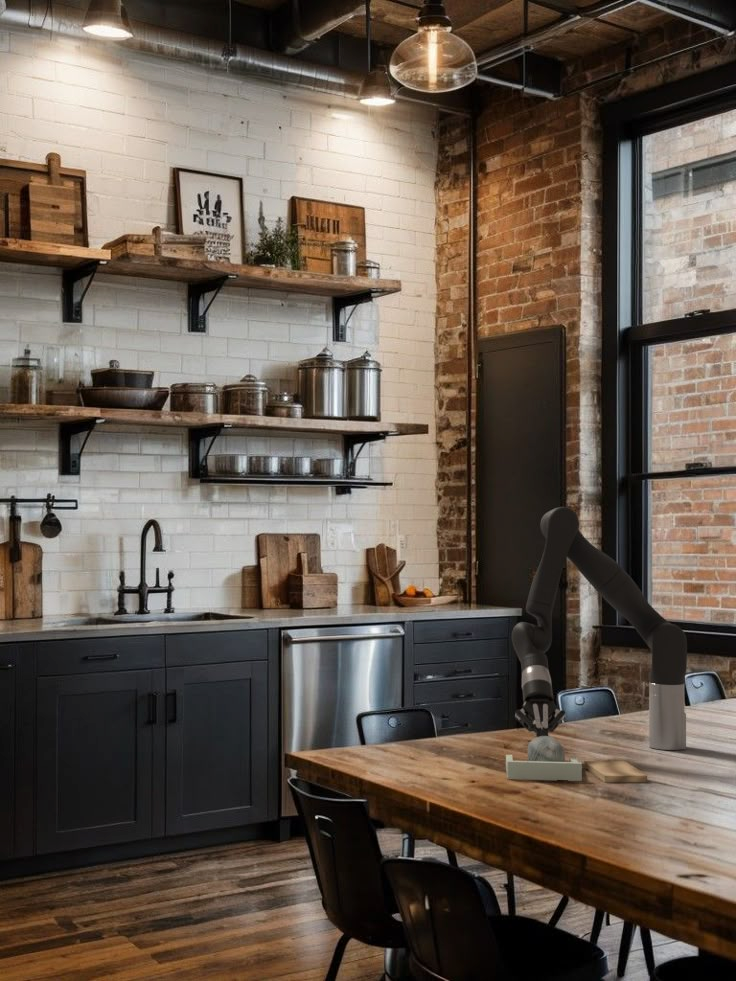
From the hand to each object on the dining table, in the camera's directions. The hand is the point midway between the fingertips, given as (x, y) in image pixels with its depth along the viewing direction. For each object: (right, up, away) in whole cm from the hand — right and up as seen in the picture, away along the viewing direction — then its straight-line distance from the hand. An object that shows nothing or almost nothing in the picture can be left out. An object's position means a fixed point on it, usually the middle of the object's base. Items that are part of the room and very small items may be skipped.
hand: (543, 743), depth 296 cm
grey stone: (0, -5, -7) cm, 9 cm away
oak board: (+16, -5, -10) cm, 19 cm away
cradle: (-1, -5, -8) cm, 10 cm away
